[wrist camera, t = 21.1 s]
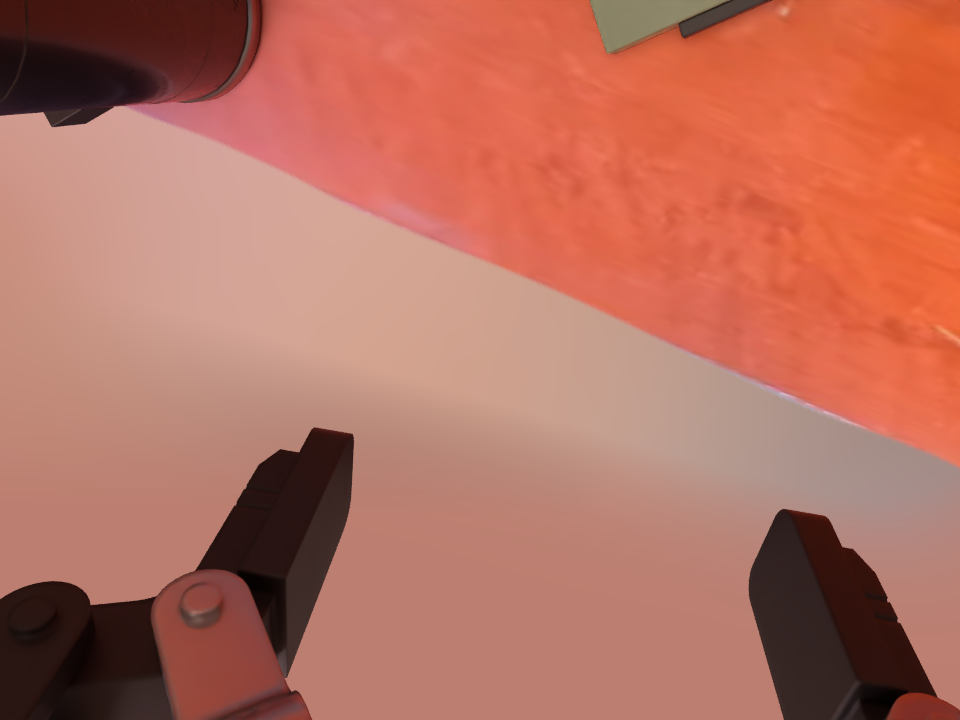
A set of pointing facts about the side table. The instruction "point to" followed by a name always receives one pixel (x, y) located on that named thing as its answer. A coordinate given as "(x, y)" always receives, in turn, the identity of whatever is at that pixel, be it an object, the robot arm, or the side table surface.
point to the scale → (660, 18)
